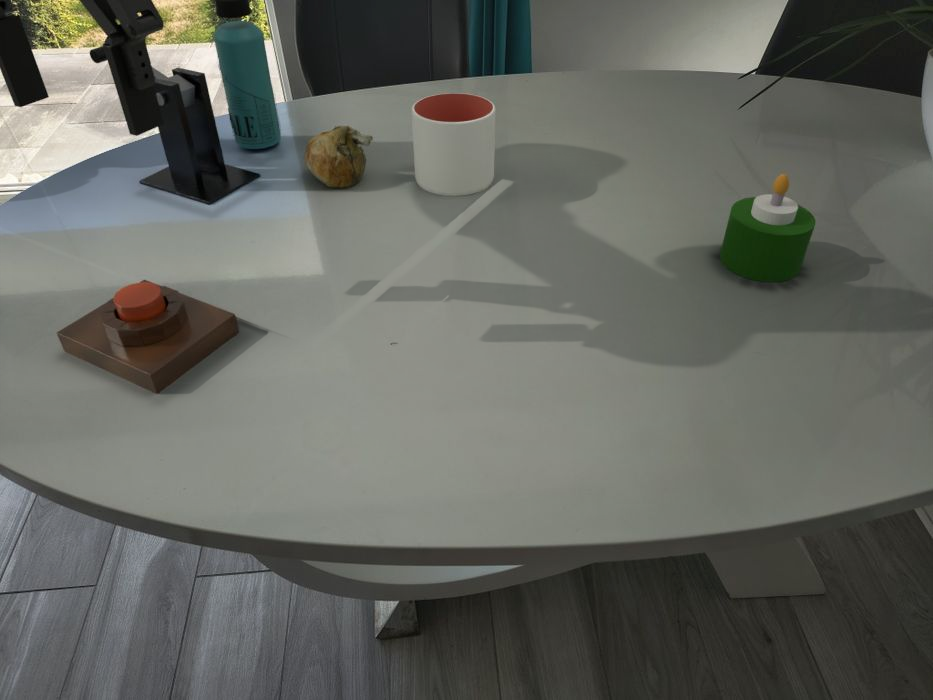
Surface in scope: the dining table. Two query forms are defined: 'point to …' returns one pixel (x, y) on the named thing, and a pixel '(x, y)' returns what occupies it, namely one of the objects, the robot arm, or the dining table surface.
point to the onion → (337, 156)
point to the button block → (150, 339)
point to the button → (139, 302)
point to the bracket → (193, 145)
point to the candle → (767, 236)
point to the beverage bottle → (246, 77)
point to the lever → (185, 86)
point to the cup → (454, 143)
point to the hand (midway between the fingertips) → (87, 115)
